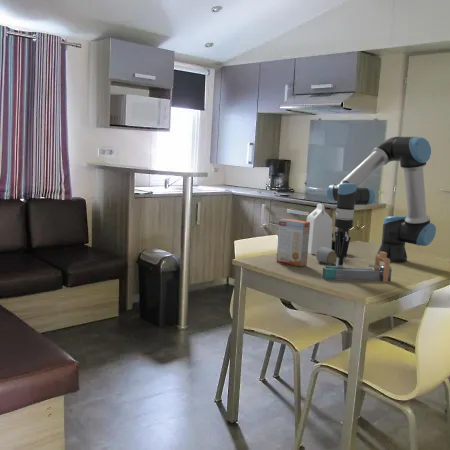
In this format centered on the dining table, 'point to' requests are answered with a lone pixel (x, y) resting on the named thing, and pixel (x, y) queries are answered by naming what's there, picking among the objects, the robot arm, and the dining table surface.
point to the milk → (319, 230)
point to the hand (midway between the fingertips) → (338, 271)
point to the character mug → (333, 237)
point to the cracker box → (293, 242)
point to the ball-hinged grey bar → (354, 274)
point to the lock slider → (386, 265)
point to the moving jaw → (358, 268)
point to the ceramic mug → (326, 255)
